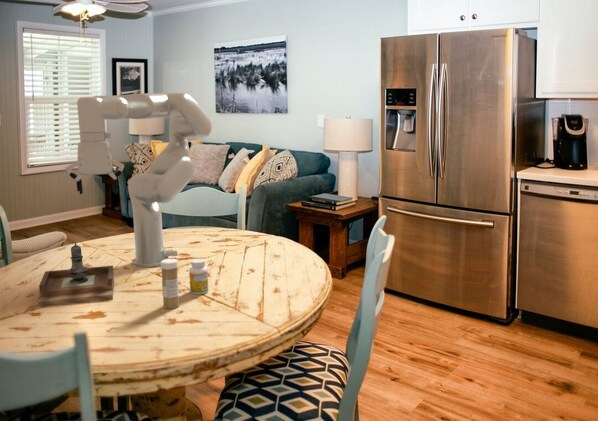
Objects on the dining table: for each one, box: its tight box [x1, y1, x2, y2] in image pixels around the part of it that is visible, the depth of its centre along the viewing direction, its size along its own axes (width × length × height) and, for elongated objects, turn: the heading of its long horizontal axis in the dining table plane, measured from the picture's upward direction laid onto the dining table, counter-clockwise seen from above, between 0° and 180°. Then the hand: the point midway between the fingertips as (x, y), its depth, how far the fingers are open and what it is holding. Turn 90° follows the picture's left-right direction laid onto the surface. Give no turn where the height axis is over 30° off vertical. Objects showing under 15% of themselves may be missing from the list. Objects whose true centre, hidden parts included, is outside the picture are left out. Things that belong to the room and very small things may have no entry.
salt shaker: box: [67, 242, 89, 284], centre depth 178 cm, size 6×6×12 cm
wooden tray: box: [37, 265, 115, 308], centre depth 178 cm, size 20×18×5 cm
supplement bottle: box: [189, 258, 209, 295], centre depth 178 cm, size 5×5×10 cm
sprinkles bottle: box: [160, 258, 180, 310], centre depth 165 cm, size 5×5×13 cm
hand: (97, 192), depth 186 cm, fingers open, 9 cm apart
